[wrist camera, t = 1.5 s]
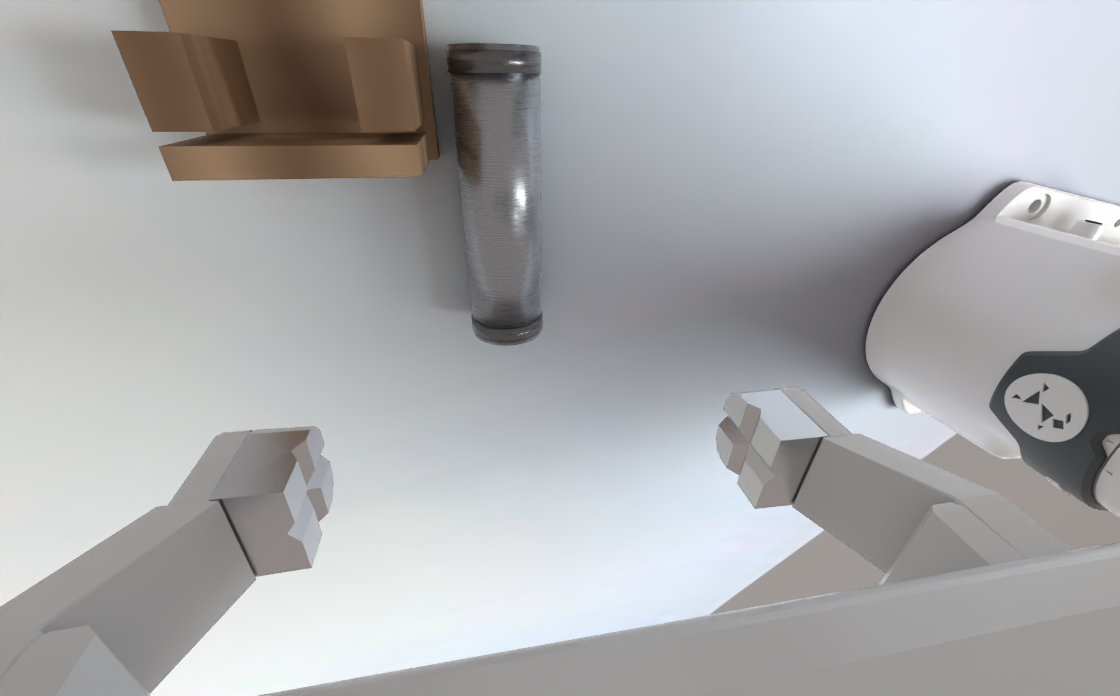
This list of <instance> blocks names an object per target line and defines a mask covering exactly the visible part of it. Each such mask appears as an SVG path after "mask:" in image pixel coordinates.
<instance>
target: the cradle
mask: <svg viewBox="0 0 1120 696" xmlns="http://www.w3.org/2000/svg"><path fill="white" fill-rule="evenodd" d="M159 2H160V5H161V7H162V10H163V13H164V16H165V19H166V22H167V24H168V27H169V30H170V32H144V31H112V34H113V36H114V39H115V41H116V44H117V46H118V49H119V51H120V53H121V56H122V58H123V61H124V63H125V66H126V68H127V71H128V73H129V75H130V78H131V80H132V83H133V85H134V88H135V90H136V93H137V95H138V97H139V100H140V102H141V105H142V107H143V110H144V112H145V115H146V117H147V119H148V122H149V124H150V127H151V129H152V132H206V134H207V136H202V137H198V138H194V139H189V140H185V141H181V142H176V143H172V144H168V145H163V146H159V149H160V151H161V154H162V156H163V159H164V161H165V163H166V166H167V168H168V171H169V173H170V176H171V178H172V180H173V181H188V180H251V179H315V178H378V177H421V176H422V174H423V172H424V170H425V168H426V166H427V164H428V162H429V160H438V159H439V156H440V155H439V146H438V138H437V129H436V120H435V111H434V103H433V94H432V85H431V76H430V68H429V59H428V50H427V42H426V33H425V24H424V15H423V7H422V0H159Z"/></svg>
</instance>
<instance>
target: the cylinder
mask: <svg viewBox="0 0 1120 696" xmlns="http://www.w3.org/2000/svg"><path fill="white" fill-rule="evenodd" d="M446 57H447V67H448V72H449V75H450V86H451V96H452V106H453V117H454V127H455V138H456V148H457V159H458V169H459V179H460V190H461V200H462V211H463V221H464V232H465V242H466V253H467V263H468V273H469V284H470V294H471V305H472V325H473V331H474V333H475V335H476V337H478V338H479V339H480V340H482V341H484V342H486V343H490V344H494V345H517V344H522V343H525V342H528V341H530V340H532V339H534V338H535V337H537V336H538V335H539V334H540V332H541V329H542V310H541V194H540V74H541V53H540V52H539V47H537V46H529V45H514V44H481V43H468V44H448V45H447V50H446Z"/></svg>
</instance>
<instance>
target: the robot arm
mask: <svg viewBox="0 0 1120 696" xmlns="http://www.w3.org/2000/svg"><path fill="white" fill-rule="evenodd" d="M866 358H867V362H868V365H869V368H870V370H871V371H872V373H873V374H874V375H875V376H876V377H877V378H878V379H879V380H880V381H882V382H883V383H885V384H886V385H887V386H888V387H889V388H890V389H891V392H892V397H893V400H894V403H895V405H896V406H897V407H898V408H900V409H901V410H903V411H905V412H906V413H909V414H914V413H919V412H922V411H923V412H925V413H926V414H928V415H930V416H931V417H933V418H934V419H936V420H937V421H939V422H941V423H942V424H944V425H945V426H947V427H949V428H950V429H952V430H953V431H955V432H957V433H958V434H960V435H961V436H963V437H965V438H966V439H968V440H970V441H971V442H973V443H974V444H976V445H977V446H979V447H981V448H982V449H984V450H986V451H987V452H989V453H991V454H992V455H994V456H997V457H999V458H1004V459H1007V458H1022V459H1023V460H1024V462H1025V463H1026V464H1027V465H1029V466H1030V467H1032V468H1033V469H1034V470H1036V471H1037V472H1039V473H1040V474H1042V475H1043V476H1045V477H1046V479H1047V480H1049V481H1050V483H1051V484H1053V485H1054V486H1056V487H1057V488H1059V489H1060V490H1062V491H1063V492H1066V493H1067V494H1069V495H1073V496H1074V497H1076V498H1077V499H1079V500H1080V501H1082V502H1083V503H1085V504H1087V505H1088V506H1090V507H1092V508H1094V509H1098V510H1107V511H1111V512H1112V513H1113V514H1115V515H1117V516H1118V517H1119V518H1120V206H1118V205H1114V204H1110V203H1107V202H1103V201H1099V200H1095V199H1091V198H1087V197H1083V196H1079V195H1076V194H1072V193H1068V192H1064V191H1060V190H1056V189H1052V188H1048V187H1044V186H1041V185H1037V184H1033V183H1029V182H1025V181H1019V182H1015V183H1013V184H1011V185H1010V186H1008V187H1007V188H1005V189H1004V190H1003V191H1002V192H1000V193H999V194H998V195H997V196H996V197H995V198H994V199H993V200H992V201H991V202H990V203H989V204H988V205H987V206H986V207H985V208H984V209H983V210H982V211H981V212H980V213H979V214H978V215H977V216H976V217H975V218H973V219H972V220H971V221H969V222H968V223H966V224H965V225H963V226H962V227H960V228H958V229H957V230H955V231H953V232H952V233H950V234H948V235H947V236H945V237H943V238H942V239H940V240H939V241H937V242H936V243H935V244H933V245H932V246H930V247H929V248H928V249H927V250H925V251H924V252H923V253H922V254H921V255H919V256H918V257H917V258H916V259H915V260H914V261H913V262H912V263H911V264H910V265H909V266H908V267H907V268H906V269H905V270H904V271H903V272H902V273H901V274H900V275H899V277H898V278H897V279H896V280H895V281H894V283H893V284H892V285H891V287H890V288H889V289H888V291H887V292H886V294H885V295H884V297H883V298H882V300H881V302H880V304H879V305H878V307H877V309H876V311H875V313H874V316H873V318H872V320H871V323H870V326H869V329H868V333H867V339H866ZM724 411H725V412H726V414H727V417H726V418H725V419H724V420H723V421H722V422H721V423H720V424H719V426H718V430H717V434H716V444H717V451H718V453H719V456H720V459H721V460H722V462H723V463H724V465H725V466H726V468H728V469H729V470H731V471H733V472H735V473H736V474H738V483H737V484H738V485H739V487H740V488H741V490H742V491H743V493H744V494H745V495H746V497H747V498H748V500H749V501H750V503H751V504H752V506H753V507H754V508H755V509H757V508H767V507H776V506H786V505H793V506H792V507H793V508H795V509H796V510H797V511H799V512H800V513H802V514H803V515H804V516H806V517H807V518H809V519H810V520H812V521H813V522H814V523H816V524H817V525H819V526H820V527H821V528H823V529H824V530H826V531H827V532H828V533H830V534H831V535H833V536H834V537H835V538H837V539H838V540H840V541H841V542H842V543H844V544H845V545H847V546H848V547H849V548H851V549H852V550H854V551H855V552H857V553H858V554H859V555H861V556H862V557H864V558H865V559H866V560H868V561H870V562H871V563H872V564H873V565H875V566H876V567H878V568H879V569H880V570H882V571H883V572H885V573H886V575H885V576H884V578H883V579H882V581H881V582H880V584H879V585H876V586H870V587H865V588H859V589H853V590H848V591H842V592H837V593H831V594H826V595H819V596H814V597H808V598H803V599H797V600H792V601H786V602H780V603H775V604H770V605H764V606H758V607H752V608H747V609H741V610H736V611H730V612H724V613H719V614H713V615H707V616H702V617H696V618H691V619H685V620H679V621H674V622H668V623H663V624H657V625H651V626H646V627H640V628H635V629H629V630H623V631H618V632H612V633H607V634H601V635H595V636H590V637H584V638H579V639H573V640H567V641H562V642H556V643H551V644H545V645H539V646H534V647H528V648H523V649H517V650H511V651H506V652H500V653H495V654H489V655H483V656H478V657H472V658H466V659H461V660H455V661H450V662H444V663H438V664H433V665H427V666H422V667H416V668H410V669H405V670H399V671H393V672H388V673H382V674H377V675H371V676H365V677H360V678H354V679H348V680H343V681H337V682H332V683H326V684H320V685H315V686H309V687H303V688H298V689H292V690H287V691H281V692H275V693H270V694H264V695H258V696H1120V542H1117V543H1112V544H1106V545H1101V546H1095V547H1089V548H1083V549H1078V550H1072V549H1070V548H1069V547H1068V546H1066V545H1065V544H1064V543H1062V542H1061V541H1060V540H1059V539H1057V538H1056V537H1055V536H1053V535H1052V534H1051V533H1050V532H1048V531H1047V530H1046V529H1044V528H1043V527H1042V526H1040V525H1039V524H1038V523H1037V522H1035V521H1034V520H1033V519H1031V518H1030V517H1029V516H1028V515H1026V514H1025V513H1024V512H1022V511H1021V510H1020V509H1018V508H1017V507H1016V506H1015V505H1013V504H1012V503H1011V502H1009V501H1008V500H1007V499H1005V498H1004V497H1003V496H1002V495H1000V494H998V493H996V492H994V491H992V490H989V489H987V488H985V487H982V486H980V485H978V484H975V483H973V482H971V481H968V480H966V479H964V478H961V477H959V476H957V475H954V474H952V473H950V472H947V471H945V470H942V469H940V468H938V467H936V466H933V465H931V464H929V463H926V462H924V461H922V460H919V459H917V458H915V457H912V456H910V455H908V454H905V453H903V452H901V451H898V450H896V449H894V448H891V447H889V446H887V445H884V444H882V443H880V442H877V441H875V440H873V439H870V438H868V437H866V436H864V435H861V434H852V433H851V432H850V431H849V430H848V429H846V428H845V427H844V426H843V425H842V424H841V423H840V422H839V421H838V420H836V419H835V418H834V417H833V416H832V415H831V414H830V413H829V412H827V411H826V410H825V409H824V408H823V407H822V406H821V405H820V404H819V403H817V402H816V401H815V400H814V399H813V398H812V397H811V396H810V395H809V394H807V393H806V392H805V391H804V390H803V389H800V388H797V387H788V388H779V389H774V390H765V391H753V392H741V393H731V394H730V395H729V397H728V398H727V399H726V402H725V405H724ZM323 446H324V440H323V437H322V434H321V431H320V429H318V428H317V427H315V426H311V427H294V428H278V429H261V430H254V431H252V430H249V431H234V432H223V433H221V434H219V435H217V436H216V437H215V438H214V439H213V441H212V442H211V444H210V445H209V447H208V448H207V449H206V451H205V452H204V454H203V455H202V457H201V458H200V460H199V461H198V462H197V464H196V465H195V467H194V468H193V470H192V471H191V473H190V474H189V476H188V477H187V478H186V480H185V481H184V483H183V484H182V486H181V487H180V489H179V490H178V491H177V493H176V494H175V496H174V497H173V499H172V500H171V502H170V503H169V504H168V506H160V507H156V508H154V509H153V510H151V511H149V512H148V513H146V514H145V515H143V516H142V517H140V518H139V519H137V520H135V521H134V522H132V523H131V524H129V525H128V526H126V527H124V528H123V529H121V530H120V531H118V532H117V533H115V534H114V535H112V536H110V537H109V538H107V539H106V540H104V541H103V542H101V543H99V544H98V545H96V546H95V547H93V548H92V549H90V550H88V551H87V552H85V553H84V554H82V555H81V556H79V557H78V558H76V559H74V560H73V561H71V562H70V563H68V564H67V565H65V566H63V567H62V568H60V569H59V570H57V571H56V572H54V573H53V574H51V575H49V576H48V577H46V578H45V579H43V580H42V581H40V582H38V583H37V584H35V585H34V586H32V587H31V588H29V589H28V590H26V591H24V592H23V593H21V594H20V595H18V596H17V597H15V598H13V599H12V600H10V601H9V602H7V603H6V604H4V605H3V606H1V607H0V696H151V695H150V693H151V692H152V691H153V690H154V689H155V688H156V687H157V686H158V684H159V683H160V682H161V681H162V680H163V679H164V678H165V677H166V676H167V675H168V674H169V673H170V672H171V670H172V669H173V668H174V667H175V666H176V665H177V664H178V663H179V662H180V661H181V660H182V659H183V658H184V657H185V655H186V654H187V653H188V652H189V651H190V650H191V649H192V648H193V647H194V646H195V645H196V644H197V643H198V641H199V640H200V639H201V638H202V637H203V636H204V635H205V634H206V633H207V632H208V631H209V630H210V629H211V627H212V626H213V625H214V624H215V623H216V622H217V621H218V620H219V619H220V618H221V617H222V616H223V615H224V614H225V612H226V611H227V610H228V609H229V608H230V607H231V606H232V605H233V604H234V603H235V602H236V601H237V600H238V598H239V597H240V596H241V595H242V594H243V593H244V592H245V591H246V590H247V589H248V588H249V587H250V586H251V585H252V583H253V582H254V581H255V580H256V578H255V577H256V576H263V575H269V574H275V573H282V572H288V571H294V570H300V569H307V568H312V565H313V562H314V558H315V555H316V552H317V549H318V545H319V542H320V539H321V536H322V532H321V529H320V526H319V523H318V522H319V521H320V520H321V519H322V518H323V517H324V516H325V515H327V514H328V513H329V509H330V505H331V502H332V496H333V485H334V483H333V473H332V468H331V465H330V461H328V460H327V459H325V458H324V457H323V456H321V455H320V454H321V451H322V449H323Z"/></svg>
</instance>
